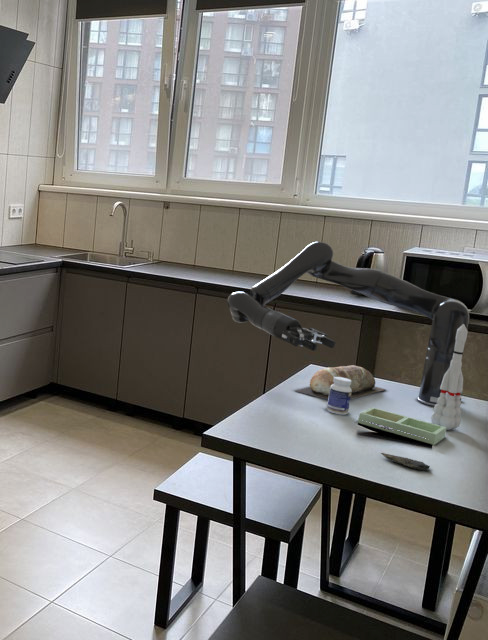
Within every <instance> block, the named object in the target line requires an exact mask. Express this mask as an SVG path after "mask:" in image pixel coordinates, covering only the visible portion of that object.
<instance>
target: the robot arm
mask: <svg viewBox="0 0 488 640" xmlns="http://www.w3.org/2000/svg"><path fill="white" fill-rule="evenodd" d="M303 275H308V276H310V277H313V278H316V279H319V280H322V281H326V282H330V283H331V284H336V285H339V286H341V287H344V288H346V289H349V290H351V291H354V292H356V293H358V294H362V295H364V296H366V297H368V298H371V299H372V300H376V301H378V302H380V303H382V304H386V305H389V306H393V307H397V308H401V309H406V310H409V311H413V312H415V313H418V314H419V315H423V316H425V317H426V318H429V319H431V320H432V323H431V327H430V332H429V337H428V341H427V348H426V354H425V359H424V365H423V371H422V375H421V382H420V387H419V391H418V397H417V401H418V402H419V403H422V404H424V405H427V406H430V407H435V404H437V400H438V398H439V397H440V393H441V391H442V390H441V389H440V387H441V383H442V380H443V377H444V375H445V373H446V372H447V370H448V369H449V367H450V363H451V360H452V359H453V354H454V348H455V343H456V334H457V329H458V328H460V327H461V326H462V325H463V324H464V325H465V327H466V329H467V330H468V327H469V321H470V312H469V309H468V307H467V306H466V305H465V303H463V302H462V301H460V300H458V299H456V298H455V299H454V298H451V297H447V296H444V295H440V294H437V293H435V292H430V291H428V290H425V289H422V288H421V287H419V286H417V285H415V284H413V283H411V282H409V281H407V280H404V279H402V278H400V277H398V276H395V275H393V274H391V273H389V272H385V271H383V270H380V269H377V268H368V267H366V268H365V267H363V268H362V267H350V266H347V265H343V264H341V263H338V262H337V261H334V250H333V247H332V246H331V245H330V244H328V243H327V242H324V241H315V242H312V243H310V244H308V245H307V246H305V248H304V249H302V251H300V253H298V254H297V255H296V256H295V257H293V258H292V259H291V260H290V261H289V262H287V263H286V264H284V266H281V268H279V269H278V270H276V271H275V272H273V273H272V274H270V275H268V276H267V277H266V278H264V279H263V280H261V281H260V282H258V283H256V284H255V285H253V286H252V287H251V288H250V291H249V293H246V292H244V291H235V292H232V293H231V294H229V296H228V297H227V307H228V309H229V313H230V315H231V318H232V320H233V321H234V322H235V323H238V324H239V323H240V324H242V323H247V322H250V324H251V325H252V326H254V327H255V328H258V329H260V330H262V331H264V332H266V333H267V334H268V335H271V336H273V337H275V338H277V339H279V340H281V341H282V342H286V343H288V344H290V345H292V346H294V347H302V348H303V347H304V348H306V349H307V350H310V351H313V352H315V351H317V349H318V344H321V345H323V346H326V347H328V348H330V349H334V348H335V346H336V341H335V340H333V339H331V338H329V337H328V334H327V333H325V332H323V331H320V330H318V329H316V328H313V327H309V329H308V328H306V327H302V325H301V323H300V321H299V320H298V319H295V317H294V318H293V317H291V316H289V315H286V314H285V313H283V312H281V311H280V312H279V311H276V310H273V309H271V308H270V307H268V306H266V304H268V303H270V302H271V301H273V300H274V299H276V298H278V297H279V296H281V294H283V293H284V292H286V291H287V290H288V289H289V288H290V287H291V286H292V285H293V284H294V283H296V281H297V280H298V279H300V278H301V277H302V276H303ZM317 343H318V344H317ZM460 401H462V397H461V398H460Z"/></svg>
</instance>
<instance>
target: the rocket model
mask: <svg viewBox="0 0 488 640" xmlns="http://www.w3.org/2000/svg"><path fill="white" fill-rule="evenodd" d="M468 331H469V330H468V328H467V329H466V327H465V325H464V324H463V325H462V326H461V327H460V328H458V329H457V334H456V343H455V348H454V354H453V359H452V360H451V363H450V367H449V369H448V370H447V372H446V373H445V375H444V377H443V380H442V383H441V387H440V389H441V390H442V391H441V393H440V397H439V398H438V400H437V404H435V406H433V412H432V413H431V416H430V421H431V423H432V424H436V425H440V426H443V427H447V428H446V431H450V430H456V429H458V428H459V427H460V425H461V422H462V418H461V415H462V408H461V406H462V400H460V398H461V399H462V397H461V394H462V393H463V391H464V390H463V389H464V375H463V371H462V366H463V362H462V360H463V354H464V349H465V344H466V342H467V337H468Z"/></svg>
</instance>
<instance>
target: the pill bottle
mask: <svg viewBox="0 0 488 640" xmlns="http://www.w3.org/2000/svg"><path fill="white" fill-rule="evenodd" d="M333 382H334V384H332V385H331V386H330V392H329V397H328V399H327V403H326V410H327V412H330V413H332V414H336V415H341V416H342V415H343V416H345V415H348V414H349V409H350V403H351V399H350V398H351V393H352V390H351V388H350V385H351V380H350V379H347V378H343V377H334V379H333Z"/></svg>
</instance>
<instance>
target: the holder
mask: <svg viewBox="0 0 488 640" xmlns="http://www.w3.org/2000/svg"><path fill="white" fill-rule="evenodd" d="M362 420H364V421H362ZM357 421H358V422H357V423H358V424H361V425H364V426H368V427H371V428H374V429H378V430H381V431H384V432H387V433H391V434H395V435H398V436H402V437H404V438H409V439H413V440H414V441H415V440H416V441H418V442H423V443H426V444H429V445H432V446H435V445H436V444H438V443H439V442H440V441H442V440H443V439H445V438H446V432H447V430H446V428H447V427H443V426H440V425H436V424H433V423H432V422H428V421H426V420H421V419H417V418H414V417H410V416H407V415H403V414H399V413H395V412H392V411H388V410H384V409H381V408H377V407H373V406H372V407H369V408H367V409H365V410H363V411H361V412H359V415H358V420H357ZM366 421H368V422H366ZM369 422H373V423H376V424H379V425H383V426H387V427H390V428H393V429H392V430H394V429H396V430H394V431H391V430H388V429H384V428H381V427H379V426H377V425H374V424H370V423H369ZM397 430H400V431H397ZM401 431H403V432H401ZM404 432H406V433H404ZM407 433H410V434H407ZM411 434H415V435H417V436H414V435H411ZM418 436H421V437H424V438H421V437H418ZM425 438H426V439H425ZM428 439H429V440H428Z"/></svg>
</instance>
